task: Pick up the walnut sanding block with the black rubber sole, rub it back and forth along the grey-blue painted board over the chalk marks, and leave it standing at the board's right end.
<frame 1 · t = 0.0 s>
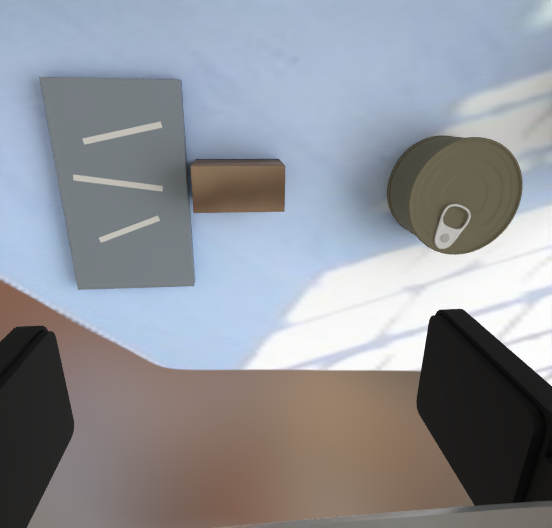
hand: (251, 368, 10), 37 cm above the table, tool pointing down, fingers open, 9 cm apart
board: (128, 190, 44), on the table
sanding block: (238, 179, 45), on the table
can: (434, 186, 48), on the table
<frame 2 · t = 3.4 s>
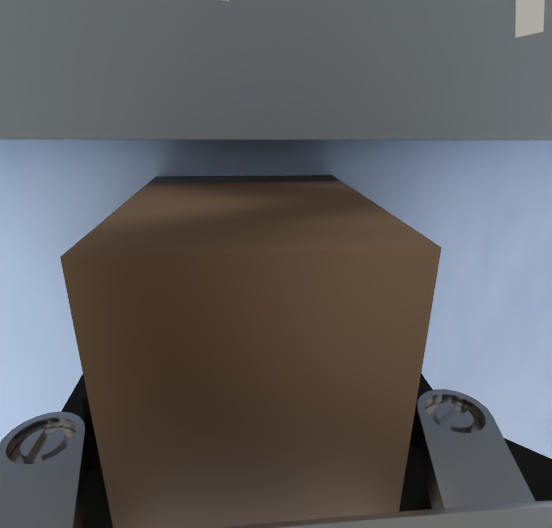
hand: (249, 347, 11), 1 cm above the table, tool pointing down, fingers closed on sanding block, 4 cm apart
sanding block: (248, 329, 12), on the table, touching gripper
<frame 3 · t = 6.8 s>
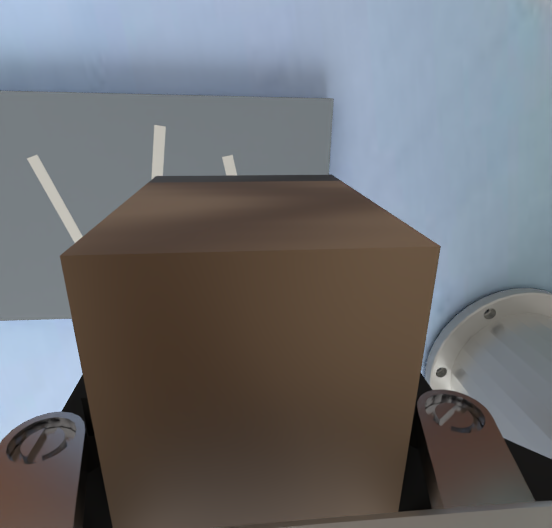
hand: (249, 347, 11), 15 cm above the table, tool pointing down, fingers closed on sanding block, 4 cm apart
board: (143, 210, 25), on the table
sanding block: (248, 328, 12), point 14 cm above the table, touching gripper
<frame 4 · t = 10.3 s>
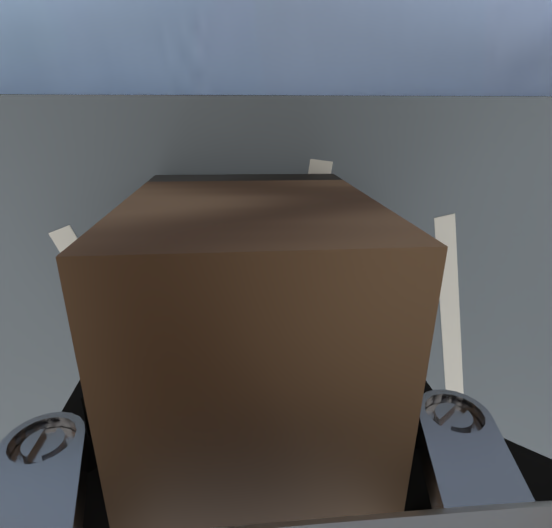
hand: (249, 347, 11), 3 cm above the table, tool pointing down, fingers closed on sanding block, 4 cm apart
board: (258, 308, 13), on the table
sanding block: (249, 330, 12), point 2 cm above the table, touching gripper
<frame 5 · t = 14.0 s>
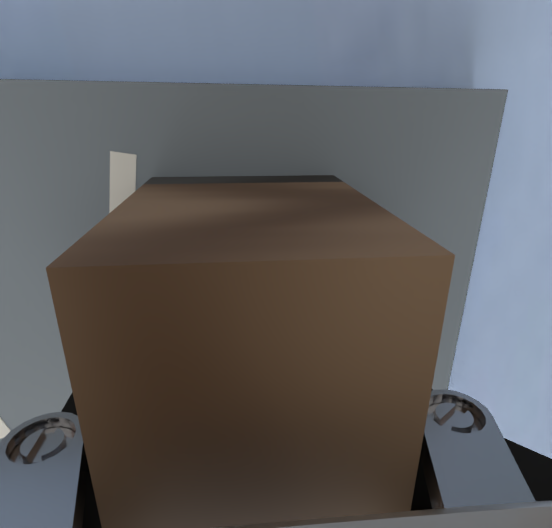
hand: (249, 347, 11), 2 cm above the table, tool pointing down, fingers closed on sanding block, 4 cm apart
board: (100, 312, 13), on the table
sanding block: (248, 333, 12), point 2 cm above the table, touching gripper
when the fingers open (2 cm above the table, at t = 17.4 s): sanding block stays where it is, resting on board.
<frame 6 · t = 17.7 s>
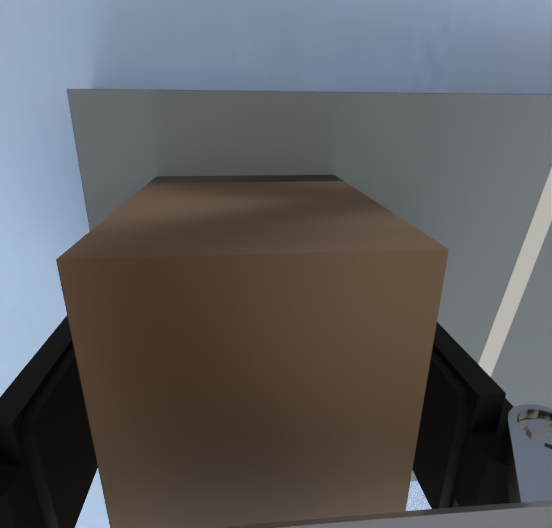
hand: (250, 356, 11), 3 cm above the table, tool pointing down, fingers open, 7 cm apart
board: (450, 300, 14), on the table
sanding block: (250, 331, 12), point 2 cm above the table, touching board
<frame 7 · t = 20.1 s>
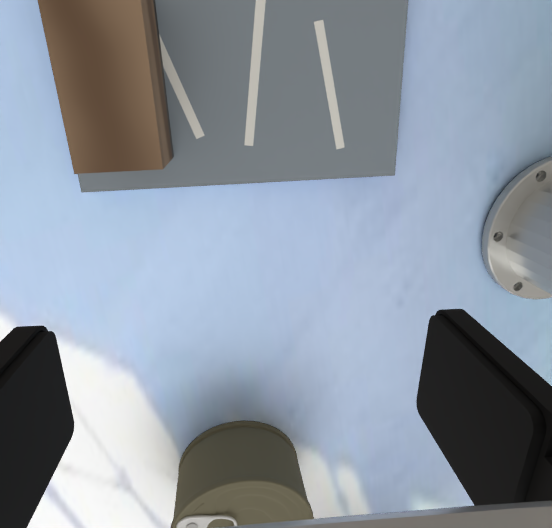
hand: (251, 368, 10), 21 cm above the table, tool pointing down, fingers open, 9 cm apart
board: (238, 83, 27), on the table
sanding block: (128, 84, 25), point 2 cm above the table, touching board
can: (238, 465, 40), on the table
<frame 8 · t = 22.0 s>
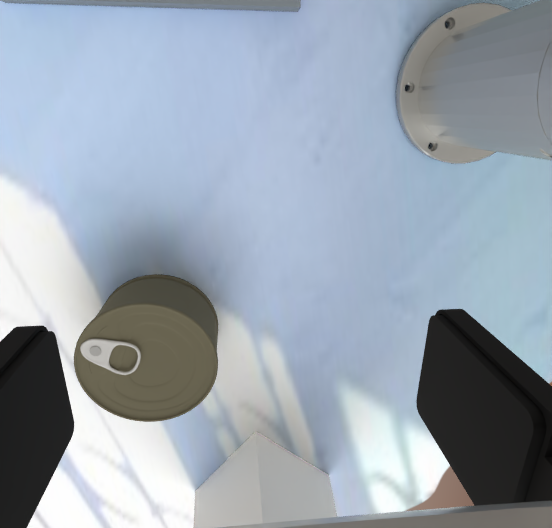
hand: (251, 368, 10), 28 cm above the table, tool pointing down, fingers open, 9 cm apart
milk: (262, 481, 50), on the table
can: (161, 325, 41), on the table
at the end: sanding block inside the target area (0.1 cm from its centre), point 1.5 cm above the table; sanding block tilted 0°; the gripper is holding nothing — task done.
